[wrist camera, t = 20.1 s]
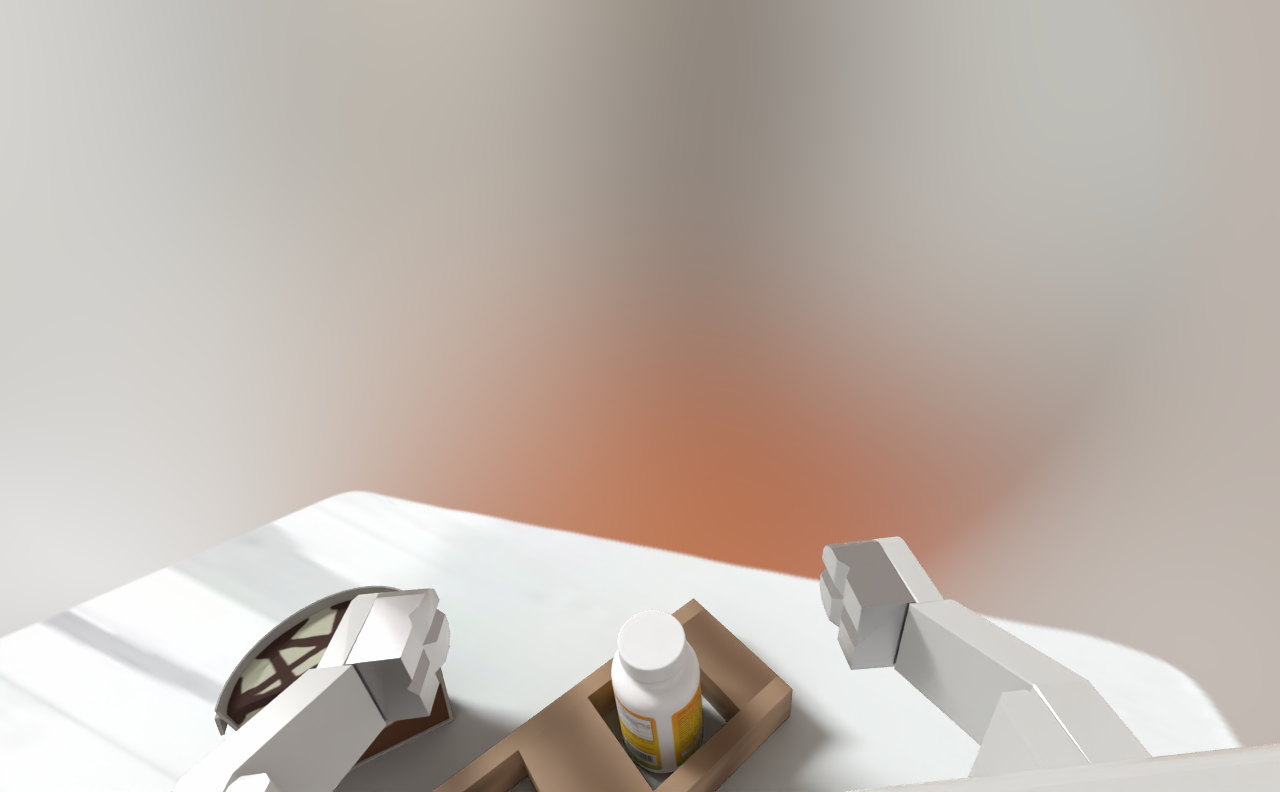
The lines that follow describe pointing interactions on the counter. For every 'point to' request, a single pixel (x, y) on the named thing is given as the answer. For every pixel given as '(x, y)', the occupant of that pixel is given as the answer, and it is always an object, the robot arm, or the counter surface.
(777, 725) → the socket rail
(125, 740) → the counter surface
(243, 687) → the food container
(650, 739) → the supplement bottle
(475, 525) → the counter surface
